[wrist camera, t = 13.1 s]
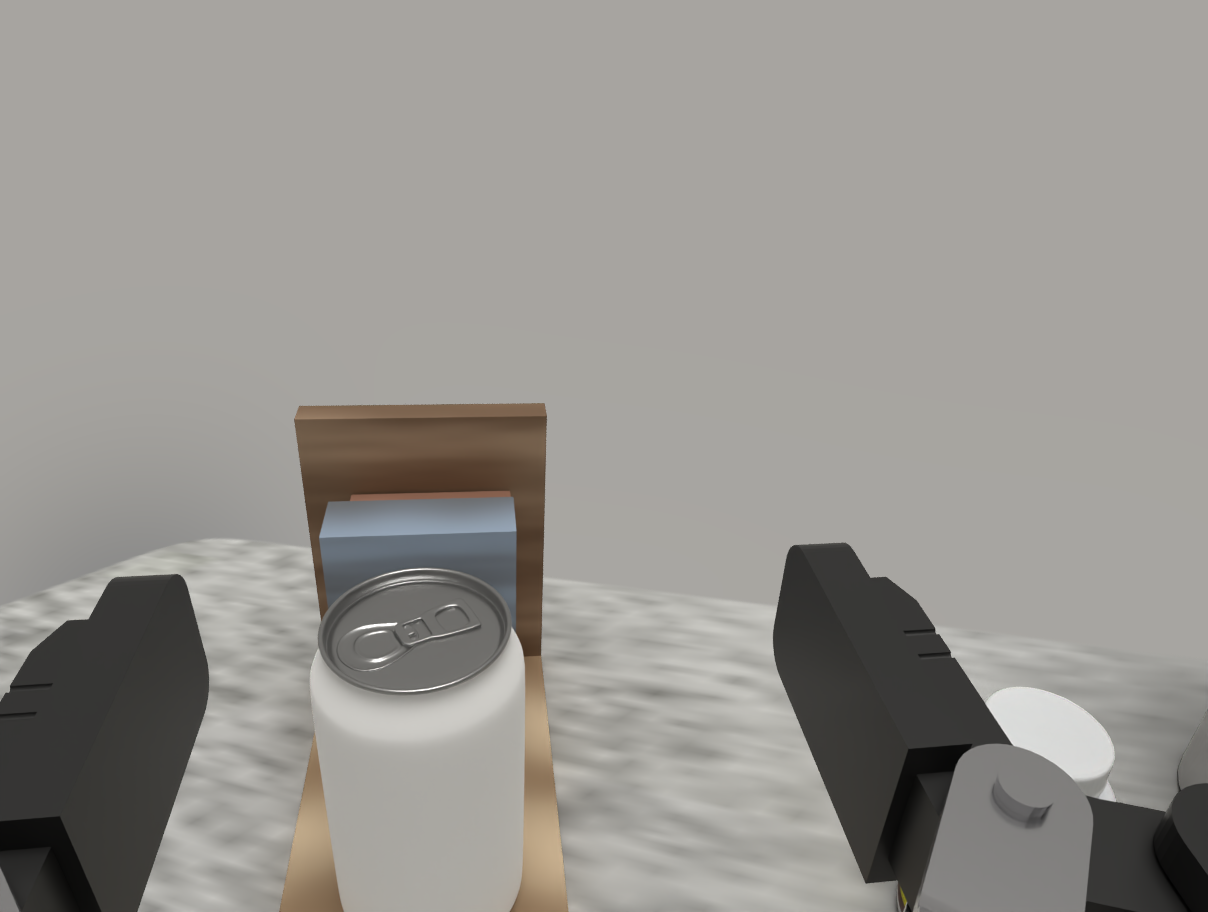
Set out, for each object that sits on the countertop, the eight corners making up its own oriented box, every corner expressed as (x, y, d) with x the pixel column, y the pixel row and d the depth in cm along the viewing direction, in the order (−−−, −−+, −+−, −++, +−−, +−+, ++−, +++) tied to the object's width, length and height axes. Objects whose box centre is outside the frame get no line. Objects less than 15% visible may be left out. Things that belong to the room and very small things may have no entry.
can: (317, 852, 32) (275, 596, 27) (476, 781, 36) (470, 538, 30) (378, 1008, 28) (344, 738, 22) (555, 909, 31) (566, 652, 25)
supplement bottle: (1015, 864, 35) (1099, 675, 30) (1072, 1006, 30) (1182, 809, 25) (877, 852, 35) (937, 662, 30) (911, 992, 31) (990, 793, 26)
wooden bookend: (573, 1005, 30) (594, 687, 22) (265, 1039, 28) (184, 712, 21) (538, 656, 44) (543, 399, 37) (334, 667, 43) (300, 401, 36)
